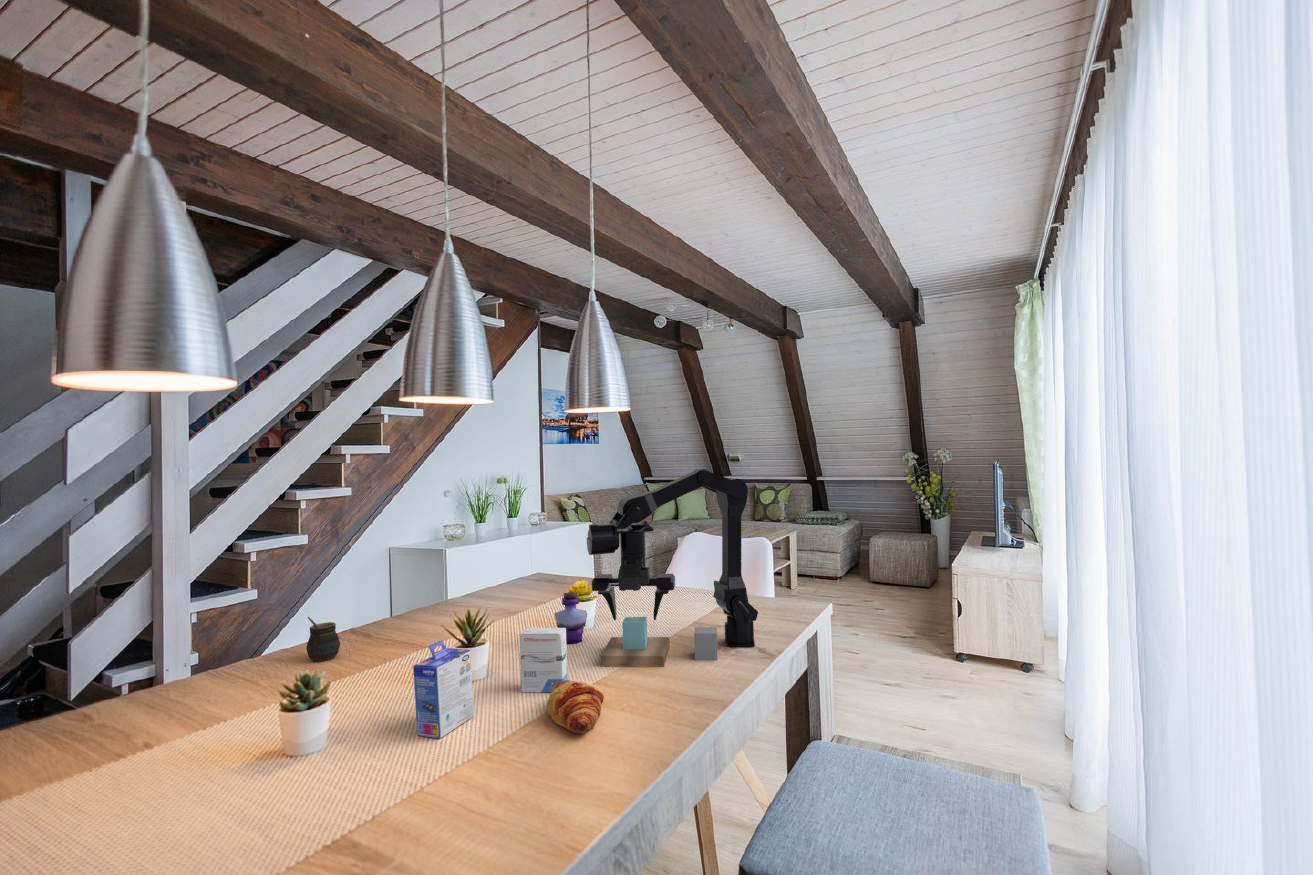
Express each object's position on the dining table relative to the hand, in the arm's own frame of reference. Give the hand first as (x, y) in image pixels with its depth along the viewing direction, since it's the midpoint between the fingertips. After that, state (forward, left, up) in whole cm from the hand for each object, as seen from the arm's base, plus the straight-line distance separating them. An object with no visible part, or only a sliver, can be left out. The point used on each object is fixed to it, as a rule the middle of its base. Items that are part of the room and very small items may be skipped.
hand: (634, 619), depth 151 cm
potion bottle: (+18, -12, -9) cm, 23 cm away
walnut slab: (0, 0, -9) cm, 9 cm away
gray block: (-16, 0, -8) cm, 18 cm away
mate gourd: (+75, +2, -9) cm, 75 cm away
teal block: (0, 0, -6) cm, 6 cm away
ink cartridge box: (+29, +38, -9) cm, 48 cm away
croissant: (+7, +33, -9) cm, 35 cm away
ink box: (+16, +20, -9) cm, 27 cm away
